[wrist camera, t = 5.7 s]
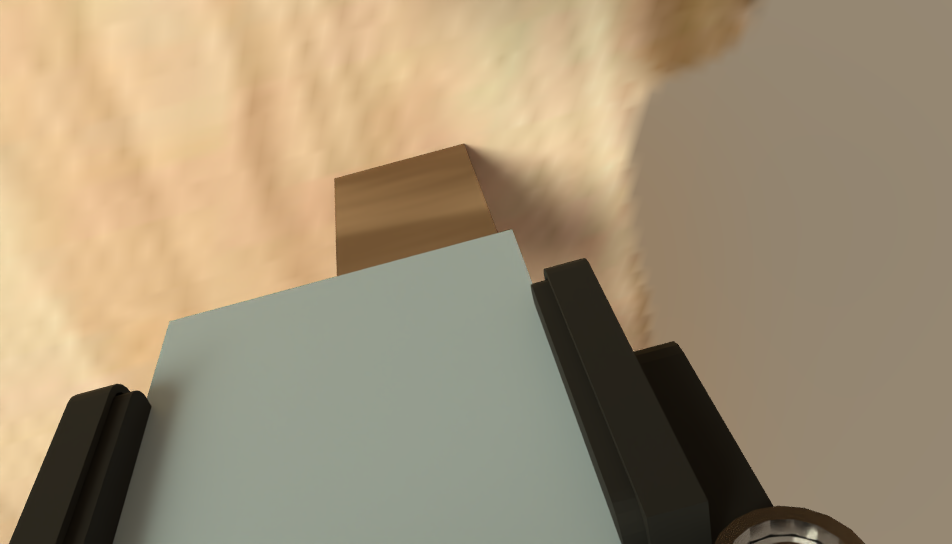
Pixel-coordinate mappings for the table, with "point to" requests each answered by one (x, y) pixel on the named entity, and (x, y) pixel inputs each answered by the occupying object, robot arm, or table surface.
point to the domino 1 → (408, 209)
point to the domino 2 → (368, 416)
